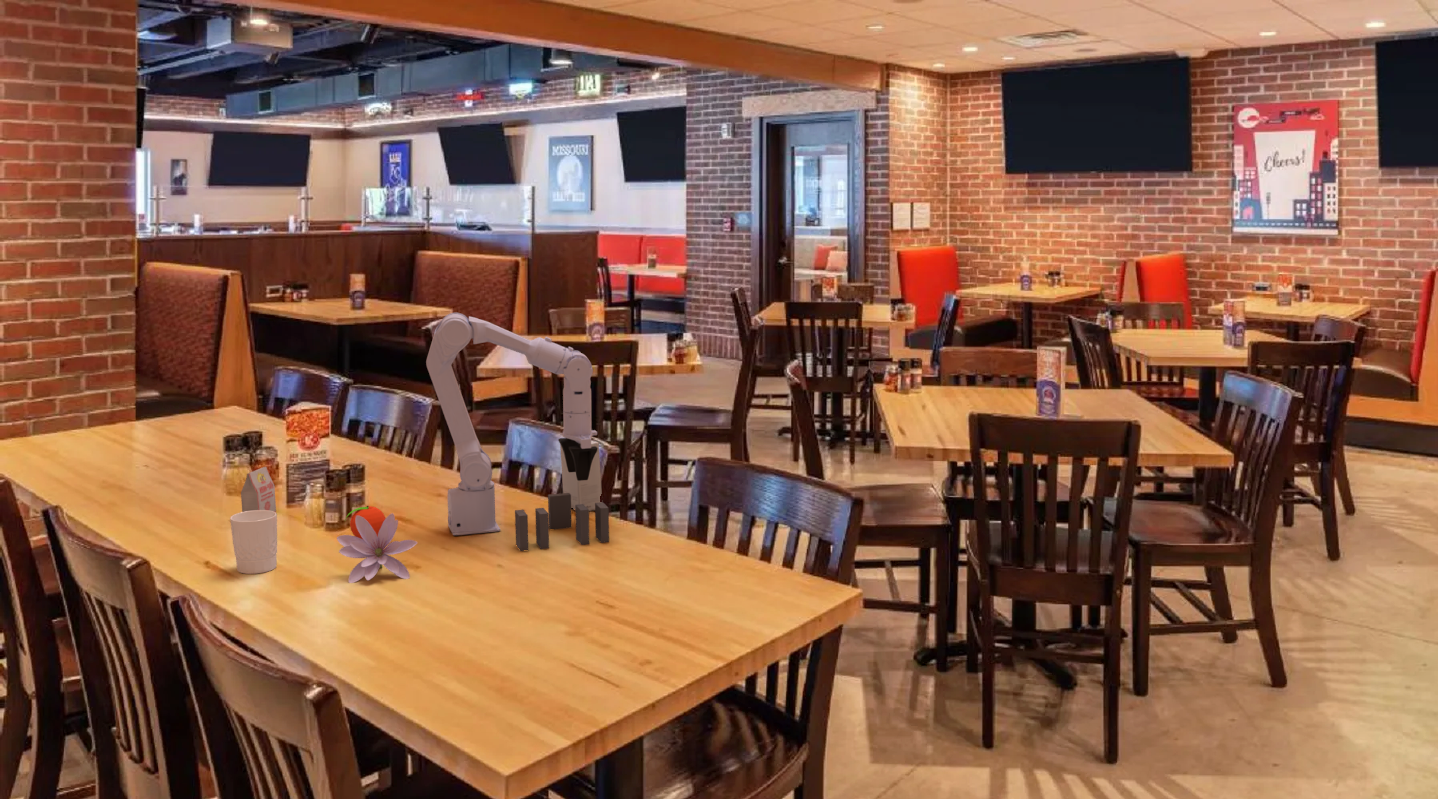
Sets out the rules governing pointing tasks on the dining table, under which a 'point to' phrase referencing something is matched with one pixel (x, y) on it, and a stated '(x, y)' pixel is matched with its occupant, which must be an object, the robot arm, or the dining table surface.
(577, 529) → the tile
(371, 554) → the water lily
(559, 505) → the tile
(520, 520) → the tile
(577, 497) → the skincare box
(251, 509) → the milk carton
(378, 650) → the dining table surface
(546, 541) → the tile
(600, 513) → the tile
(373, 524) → the tomato
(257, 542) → the white cup
